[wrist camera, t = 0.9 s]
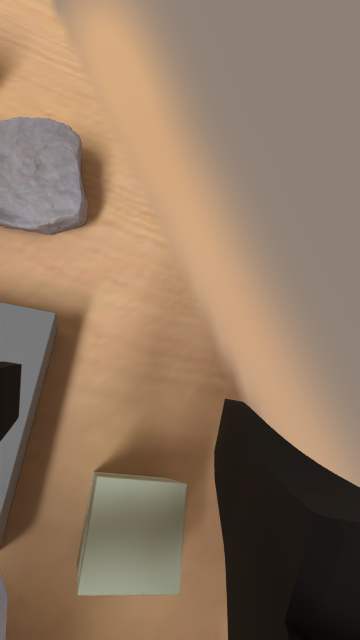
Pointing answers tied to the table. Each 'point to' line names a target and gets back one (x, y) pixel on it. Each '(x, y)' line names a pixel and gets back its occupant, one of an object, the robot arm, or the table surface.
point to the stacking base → (22, 386)
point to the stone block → (40, 176)
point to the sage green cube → (132, 536)
